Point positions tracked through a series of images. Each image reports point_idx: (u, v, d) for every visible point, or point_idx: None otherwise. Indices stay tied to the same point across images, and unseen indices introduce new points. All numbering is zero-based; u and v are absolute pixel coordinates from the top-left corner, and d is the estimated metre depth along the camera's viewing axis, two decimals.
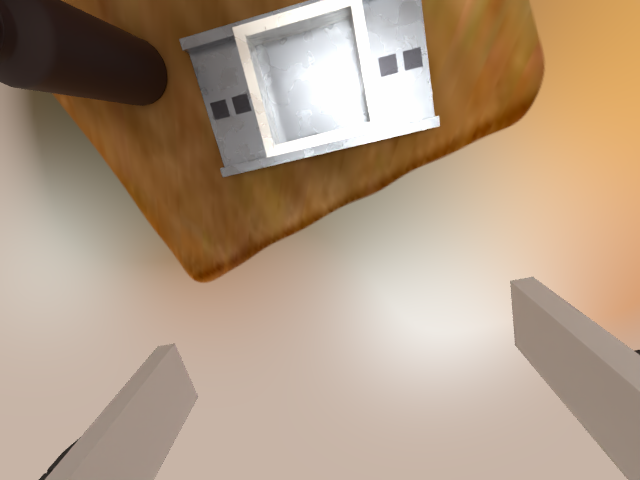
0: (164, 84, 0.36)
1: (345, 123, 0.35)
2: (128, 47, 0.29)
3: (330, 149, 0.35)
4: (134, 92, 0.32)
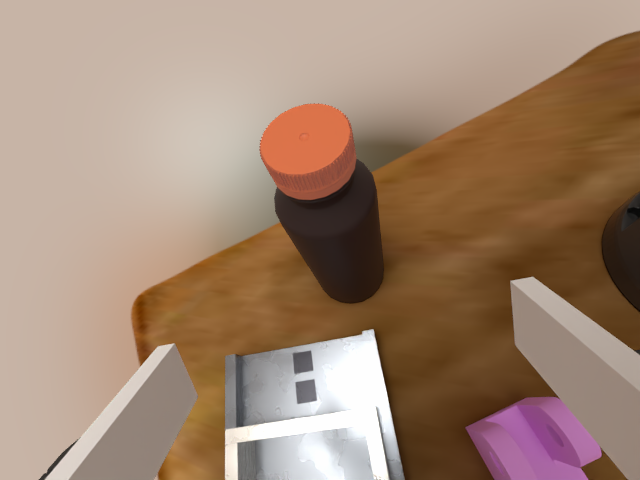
0: (336, 299, 0.33)
1: None
2: (352, 282, 0.27)
3: None
4: (315, 276, 0.29)
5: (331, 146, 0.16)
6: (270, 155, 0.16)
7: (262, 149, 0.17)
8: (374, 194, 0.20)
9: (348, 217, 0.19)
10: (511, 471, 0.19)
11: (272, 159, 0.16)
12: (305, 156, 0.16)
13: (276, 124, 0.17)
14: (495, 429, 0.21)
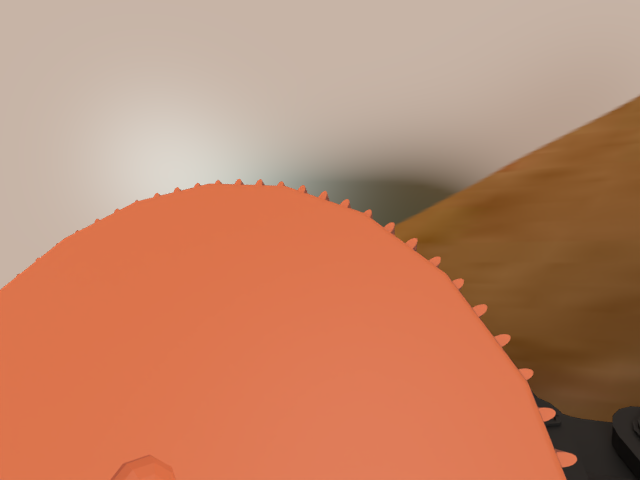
0: None
1: None
2: None
3: None
4: None
5: None
6: None
7: None
8: None
9: None
10: None
11: None
12: None
13: (9, 320, 0.03)
14: None
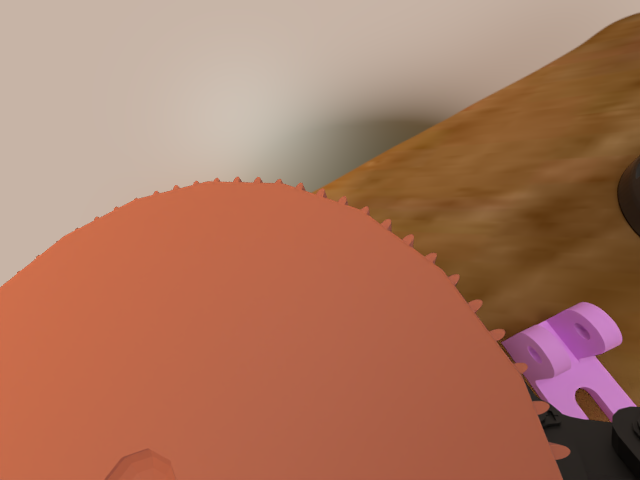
0: None
1: None
2: None
3: None
4: None
5: None
6: None
7: None
8: None
9: None
10: (549, 353, 0.24)
11: None
12: None
13: (9, 316, 0.03)
14: (532, 327, 0.26)
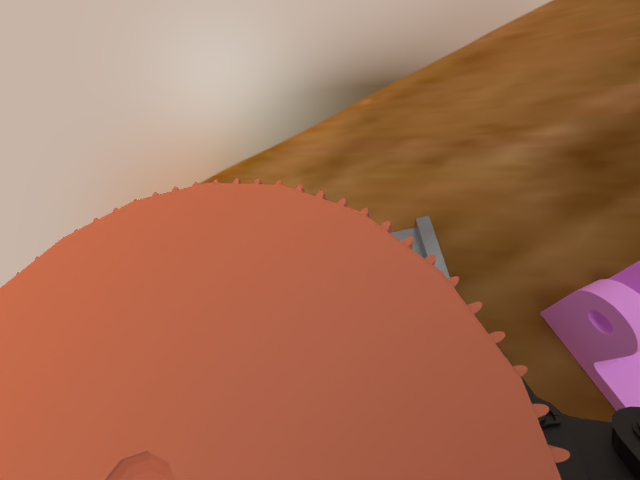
0: None
1: None
2: None
3: None
4: None
5: None
6: None
7: None
8: None
9: None
10: (629, 316, 0.15)
11: None
12: None
13: (8, 318, 0.03)
14: (597, 283, 0.17)
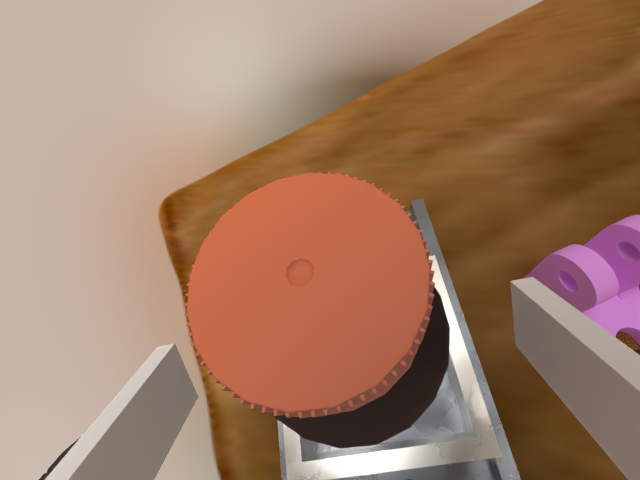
0: None
1: None
2: None
3: None
4: None
5: (376, 318, 0.05)
6: (208, 321, 0.06)
7: (191, 297, 0.06)
8: (448, 345, 0.10)
9: (397, 412, 0.09)
10: (590, 272, 0.18)
11: (211, 336, 0.06)
12: (301, 343, 0.06)
13: (233, 224, 0.07)
14: (565, 248, 0.20)
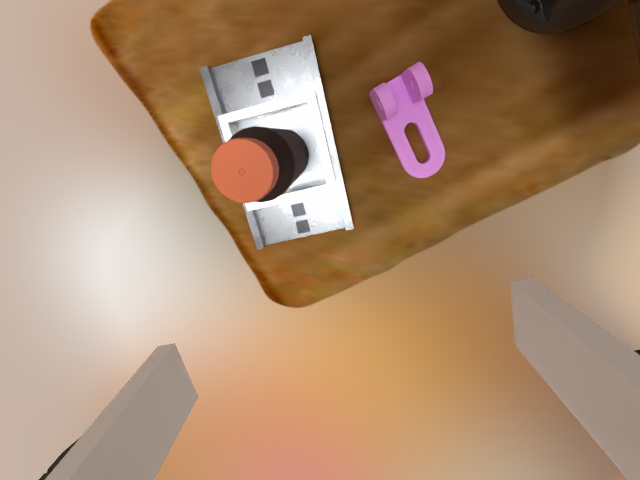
0: None
1: None
2: None
3: None
4: None
5: (261, 182, 0.25)
6: (221, 185, 0.25)
7: (214, 179, 0.25)
8: (293, 170, 0.29)
9: (277, 192, 0.29)
10: (384, 104, 0.35)
11: (223, 188, 0.25)
12: (245, 189, 0.25)
13: (219, 157, 0.24)
14: (381, 85, 0.36)
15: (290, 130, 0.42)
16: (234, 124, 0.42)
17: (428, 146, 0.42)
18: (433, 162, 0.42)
